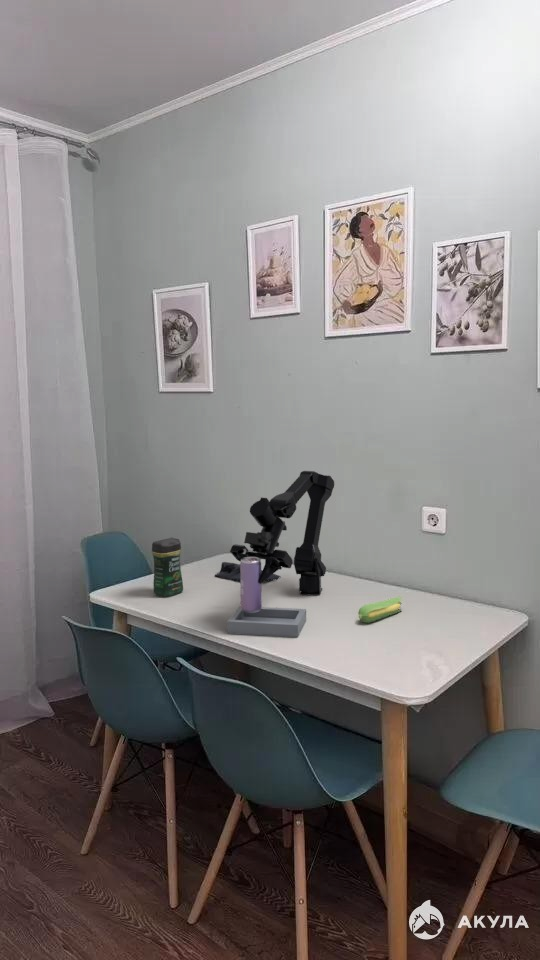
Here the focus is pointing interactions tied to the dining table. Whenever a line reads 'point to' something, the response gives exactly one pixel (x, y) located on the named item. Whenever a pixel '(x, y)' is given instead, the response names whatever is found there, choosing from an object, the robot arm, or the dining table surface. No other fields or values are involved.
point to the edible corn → (379, 610)
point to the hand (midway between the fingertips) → (250, 581)
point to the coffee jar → (167, 567)
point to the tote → (268, 622)
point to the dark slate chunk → (236, 572)
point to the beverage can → (250, 584)
